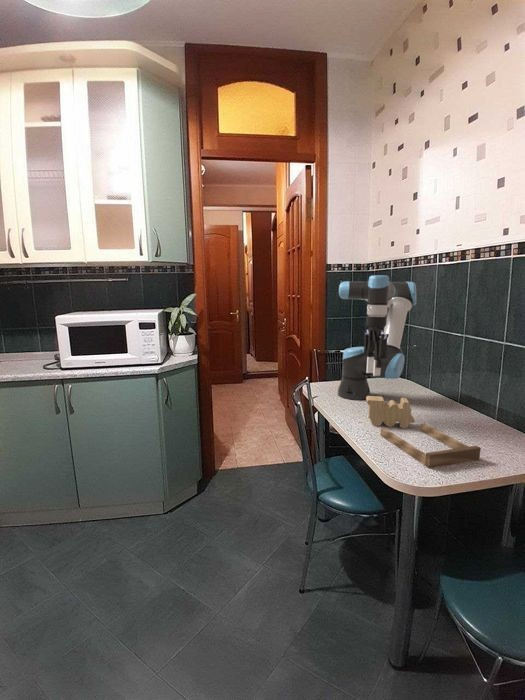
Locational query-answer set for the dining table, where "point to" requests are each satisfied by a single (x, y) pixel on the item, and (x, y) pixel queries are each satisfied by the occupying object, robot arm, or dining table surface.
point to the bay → (438, 458)
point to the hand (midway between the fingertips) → (373, 373)
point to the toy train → (389, 412)
